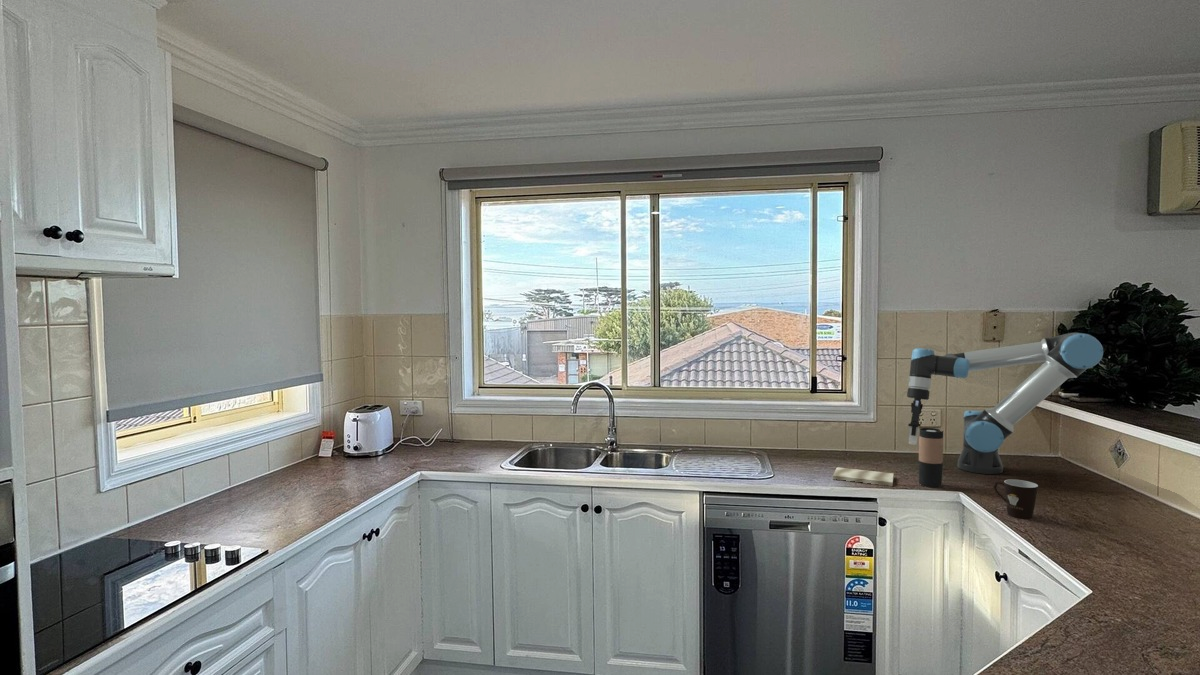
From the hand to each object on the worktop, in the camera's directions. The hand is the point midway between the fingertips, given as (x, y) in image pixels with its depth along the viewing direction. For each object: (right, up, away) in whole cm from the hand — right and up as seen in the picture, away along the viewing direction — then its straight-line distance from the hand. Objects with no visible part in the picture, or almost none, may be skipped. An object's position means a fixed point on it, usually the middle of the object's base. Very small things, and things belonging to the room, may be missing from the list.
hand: (912, 443), depth 236 cm
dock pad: (-22, -12, -7) cm, 26 cm away
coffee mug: (+9, -14, -46) cm, 49 cm away
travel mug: (-2, -12, -15) cm, 20 cm away
